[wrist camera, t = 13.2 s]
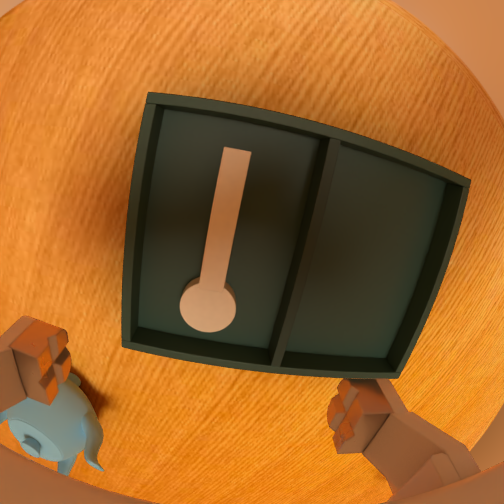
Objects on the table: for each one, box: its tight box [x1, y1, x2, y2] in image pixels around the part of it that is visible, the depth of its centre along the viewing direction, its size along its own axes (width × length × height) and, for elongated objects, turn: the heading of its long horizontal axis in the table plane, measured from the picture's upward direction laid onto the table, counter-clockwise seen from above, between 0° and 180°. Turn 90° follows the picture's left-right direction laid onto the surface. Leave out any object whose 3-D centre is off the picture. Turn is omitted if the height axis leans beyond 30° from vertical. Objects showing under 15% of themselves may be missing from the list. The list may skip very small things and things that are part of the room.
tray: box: [121, 92, 471, 379], centre depth 23 cm, size 20×26×3 cm
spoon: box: [180, 147, 251, 332], centre depth 22 cm, size 14×4×2 cm, turn 168°
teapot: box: [0, 373, 104, 476], centre depth 24 cm, size 13×13×10 cm
